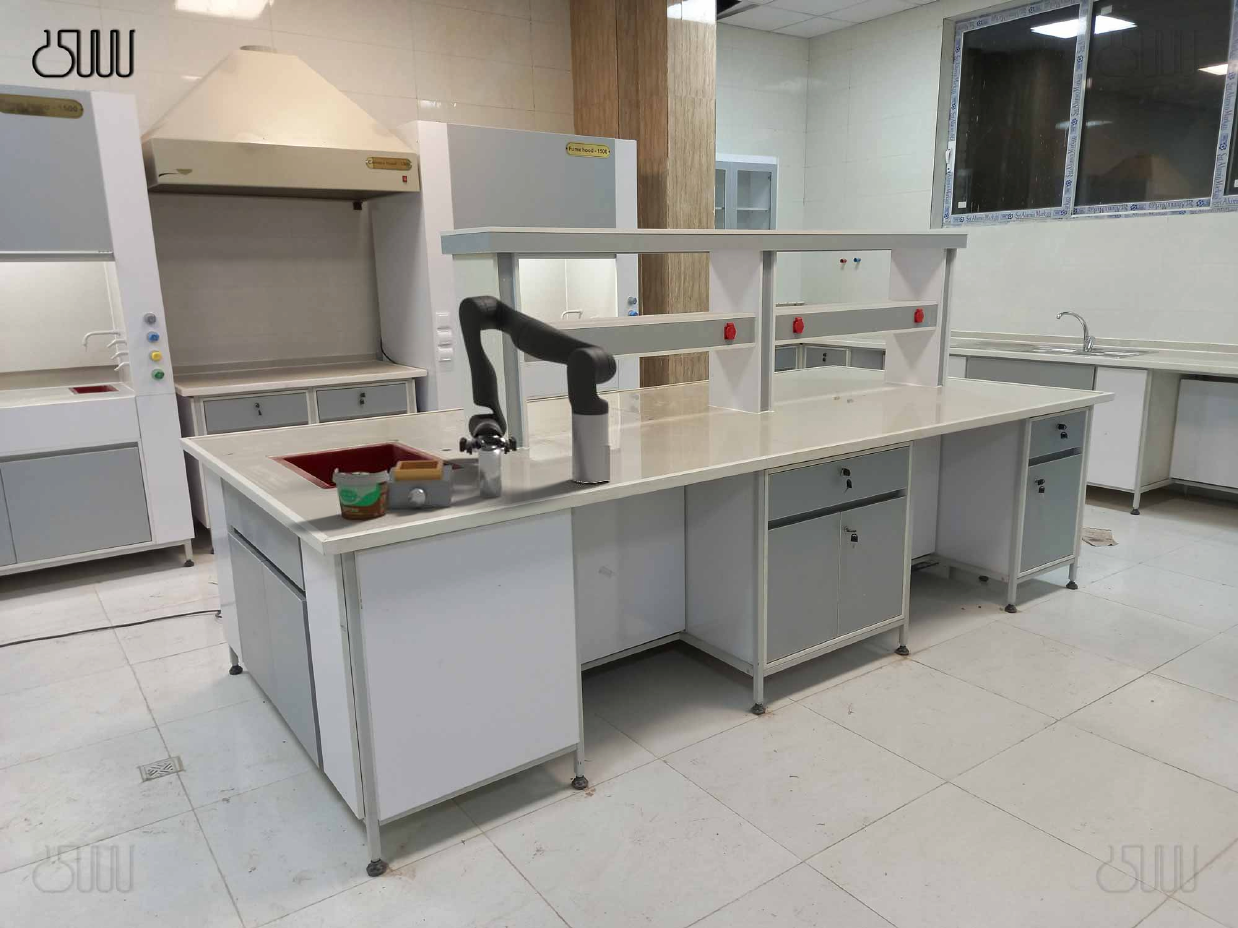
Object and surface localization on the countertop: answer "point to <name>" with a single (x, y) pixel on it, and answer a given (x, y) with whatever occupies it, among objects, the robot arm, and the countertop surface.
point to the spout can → (489, 470)
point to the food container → (361, 494)
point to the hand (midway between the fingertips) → (488, 450)
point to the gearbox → (419, 485)
